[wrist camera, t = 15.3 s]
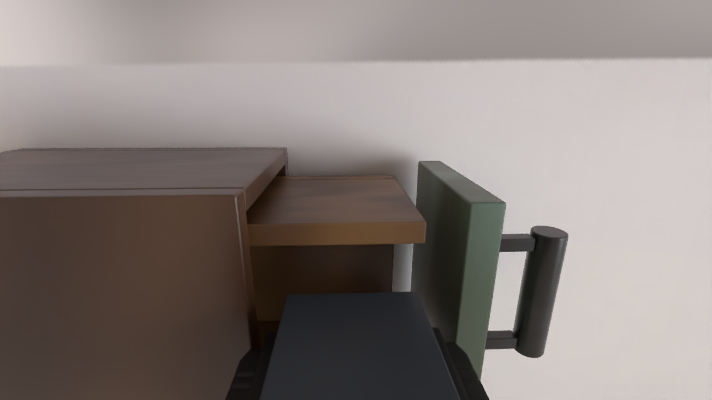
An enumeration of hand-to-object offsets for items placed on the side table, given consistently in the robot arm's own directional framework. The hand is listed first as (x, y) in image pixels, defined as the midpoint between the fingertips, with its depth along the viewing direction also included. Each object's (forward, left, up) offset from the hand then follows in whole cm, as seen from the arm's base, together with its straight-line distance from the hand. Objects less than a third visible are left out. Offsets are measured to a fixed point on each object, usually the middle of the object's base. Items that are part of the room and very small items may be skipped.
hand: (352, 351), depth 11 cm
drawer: (-1, +1, -8) cm, 8 cm away
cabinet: (+8, -6, -9) cm, 13 cm away
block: (0, 0, 0) cm, 0 cm away
